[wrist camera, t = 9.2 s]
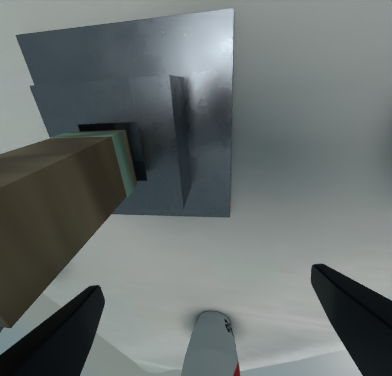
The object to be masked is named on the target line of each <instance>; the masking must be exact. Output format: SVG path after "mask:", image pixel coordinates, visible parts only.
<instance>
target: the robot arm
mask: <svg viewBox="0 0 392 376" xmlns="http://www.w3.org/2000/svg"><path fill="white" fill-rule="evenodd" d="M311 284H312V286H313V288H314V290H315V292H316V294H317V296H318V298H319V300H320V303H321V305H322V307H323V309H324V311H325V313H326V315H327V317H328V319H329V321H330V323H331V324H332V326H333V328H334V329H335V331H336V333H337V334H338V336H339V338H340V339H341V341H342V342H343V344H344V346H345V347H346V349H347V351H348V352H349V354H350V356H351V357H352V359H353V360H354V362H355V364H356V365H357V367H358V369H359V370H360V372H361V374H362V375H363V376H392V301H391V300H390V299H388V298H386V297H384V296H382V295H380V294H378V293H377V292H375V291H373V290H371V289H369V288H367V287H365V286H364V285H362V284H360V283H358V282H356V281H354V280H352V279H351V278H349V277H347V276H345V275H343V274H341V273H339V272H338V271H336V270H334V269H332V268H330V267H328V266H326V265H324V264H314V265H312V269H311ZM104 304H105V299H104V296H103V293H102V290H101V287H100V286H99V285H95V286H89V287H88V288H86V289H85V290H84V291H83V292H81V293H80V294H79V295H77V296H76V297H75V298H74V299H72V300H71V301H70V302H68V303H67V304H66V305H64V306H63V307H62V308H61V309H59V310H58V311H57V312H55V313H54V314H53V315H52V316H50V317H49V318H48V319H46V320H45V321H44V322H42V323H41V324H40V325H39V326H38V327H36V328H35V329H33V330H32V331H31V332H30V333H28V334H27V335H26V336H24V337H23V338H22V339H21V340H19V341H18V342H17V343H15V344H14V345H13V346H11V347H10V348H9V349H8V350H6V351H5V352H4V353H2V354H1V355H0V376H80V374H81V371H82V369H83V366H84V364H85V361H86V359H87V356H88V354H89V351H90V349H91V346H92V343H93V340H94V338H95V334H96V331H97V328H98V324H99V321H100V318H101V315H102V311H103V308H104Z"/></svg>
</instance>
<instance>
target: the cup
mask: <svg viewBox="0 0 392 376" xmlns="http://www.w3.org/2000/svg"><path fill="white" fill-rule="evenodd" d="M181 376H240V369H239V362H238V357H237V351H236V345H235V339H234V335H233V332H232V329H231V325H230V322H229V319H228V318H227V317H226V316H225V315H224V314H222V313H219V312H215V311H207V312H204V313H202V314H201V315H200V316H199V318H198V320H197V323H196V325H195V327H194V329H193V332H192V335H191V338H190V342H189V345H188V348H187V352H186V355H185V359H184V364H183V369H182V373H181Z"/></svg>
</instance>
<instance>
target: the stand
mask: <svg viewBox="0 0 392 376" xmlns="http://www.w3.org/2000/svg"><path fill="white" fill-rule="evenodd" d="M233 18H234V8H230V9H222V10H214V11H206V12H198V13H190V14H182V15H174V16H166V17H158V18H149V19H141V20H133V21H125V22H117V23H109V24H101V25H93V26H85V27H77V28H69V29H61V30H53V31H45V32H36V33H28V34H20V35H16V37H17V40H18V43H19V45H20V48H21V51H22V53H23V56H24V58H25V61H26V64H27V66H28V69H29V71H30V74H31V77H32V79H33V82H34V86H30V88H31V91H32V94H33V96H34V99H35V101H36V104H37V106H38V109H39V111H40V114H41V116H42V119H43V122H44V124H45V127H46V129H47V132H48V134H49V137H53V136H56V135H60V134H63V133H69V132H85V131H111V130H126V134H127V139H128V144H129V148H130V153H131V157H132V162H133V167H134V171H135V176H136V180H137V186H136V187H135V189H134V191H133V192H132V193H131V194H130V195H129V196H128V197H126V198H125V199H124V200H123V201H122V203H121V204H120V205H119V206H118V207H117V208H116V209H115V211H114V212H113V213H112V214H127V215H162V216H198V217H230V182H231V127H232V73H233Z"/></svg>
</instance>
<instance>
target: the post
mask: <svg viewBox="0 0 392 376" xmlns="http://www.w3.org/2000/svg"><path fill="white" fill-rule="evenodd" d="M136 186H137V180H136V176H135V171H134V167H133V162H132V157H131V153H130V148H129V144H128V139H127V134H126V130H111V131H85V132H69V133H63V134H60V135H56V136H53V137H50V139H47V140H44V141H41V142H38V143H34V144H31V145H28V146H25V147H22V148H18V149H15V150H12V151H9V152H6V153H3V154H0V327H6V328H11V327H12V326H13V325H14V324H15V323H16V322H17V321H18V320H19V318H20V317H21V316H22V315H23V314H24V312H25V311H26V310H27V309H28V308H29V307H30V306H31V305H32V304H33V303H34V301H35V300H36V299H37V298H38V297H39V296H40V295H41V293H42V292H43V291H44V290H45V289H46V288H47V287H48V285H49V284H50V283H51V282H52V281H53V280H54V279H55V278H56V276H57V275H58V274H59V273H60V272H61V271H62V270H63V268H64V267H65V266H66V265H67V264H68V263H69V262H70V261H71V259H72V258H73V257H74V256H75V255H76V254H77V253H78V251H79V250H80V249H81V248H82V247H83V246H84V245H85V243H86V242H87V241H88V240H89V239H90V238H91V237H92V236H93V234H94V233H95V232H96V231H97V230H98V229H99V228H100V226H101V225H102V224H103V223H104V222H105V221H106V220H107V218H108V217H109V216H110V215H111V214H112V213H113V212H114V211H115V209H116V208H117V207H118V206H119V205H120V204H121V203H122V201H123V200H124V199H125V198H126V197H128V196H129V195H130V194H131V193H132V192H133V191H134V189H135V187H136Z"/></svg>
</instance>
